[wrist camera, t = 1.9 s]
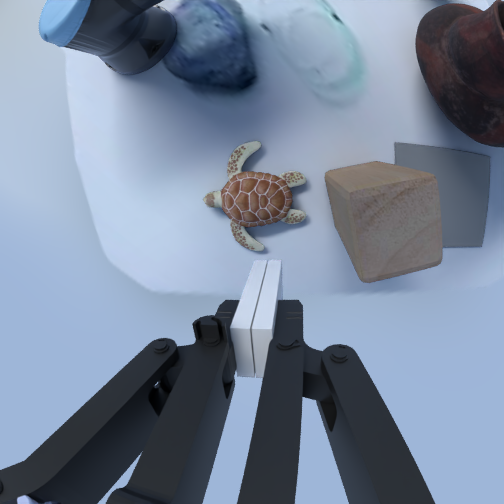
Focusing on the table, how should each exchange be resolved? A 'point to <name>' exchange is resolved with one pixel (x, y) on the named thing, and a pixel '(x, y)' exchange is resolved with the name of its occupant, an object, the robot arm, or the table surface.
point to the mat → (454, 189)
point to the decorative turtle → (255, 197)
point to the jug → (466, 67)
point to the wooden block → (386, 218)
